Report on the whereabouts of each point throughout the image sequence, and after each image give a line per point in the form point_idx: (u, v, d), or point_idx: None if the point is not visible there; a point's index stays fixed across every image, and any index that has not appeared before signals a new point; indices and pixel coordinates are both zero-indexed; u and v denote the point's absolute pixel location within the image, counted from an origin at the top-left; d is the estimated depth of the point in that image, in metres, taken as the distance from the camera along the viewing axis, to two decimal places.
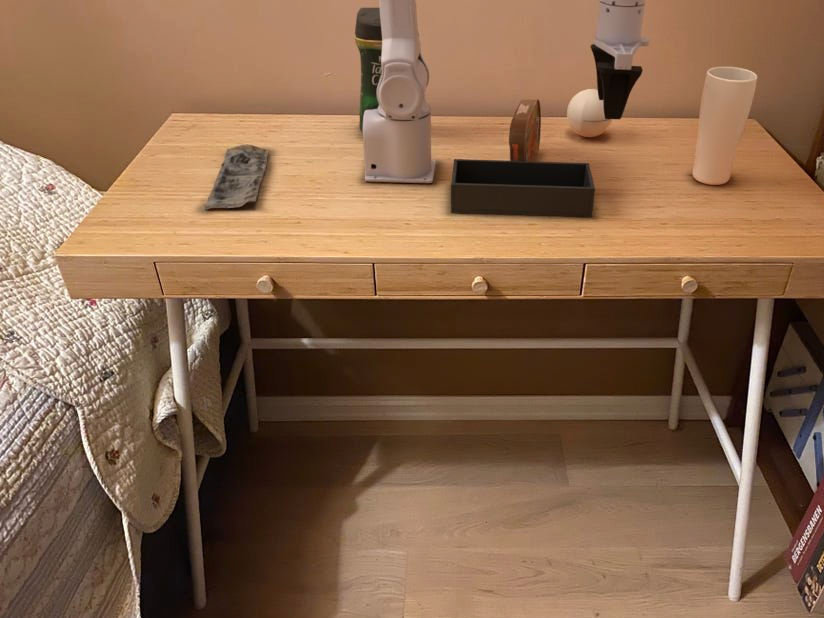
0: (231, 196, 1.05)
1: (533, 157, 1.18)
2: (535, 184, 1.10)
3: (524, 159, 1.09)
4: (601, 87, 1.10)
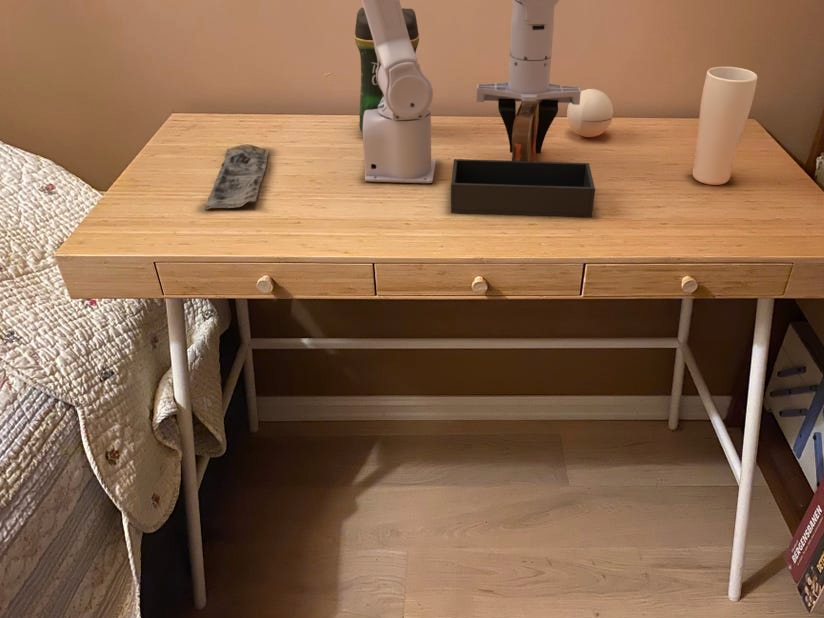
0: (231, 196, 1.05)
1: (533, 157, 1.18)
2: (535, 184, 1.10)
3: (526, 159, 1.09)
4: (536, 137, 1.16)
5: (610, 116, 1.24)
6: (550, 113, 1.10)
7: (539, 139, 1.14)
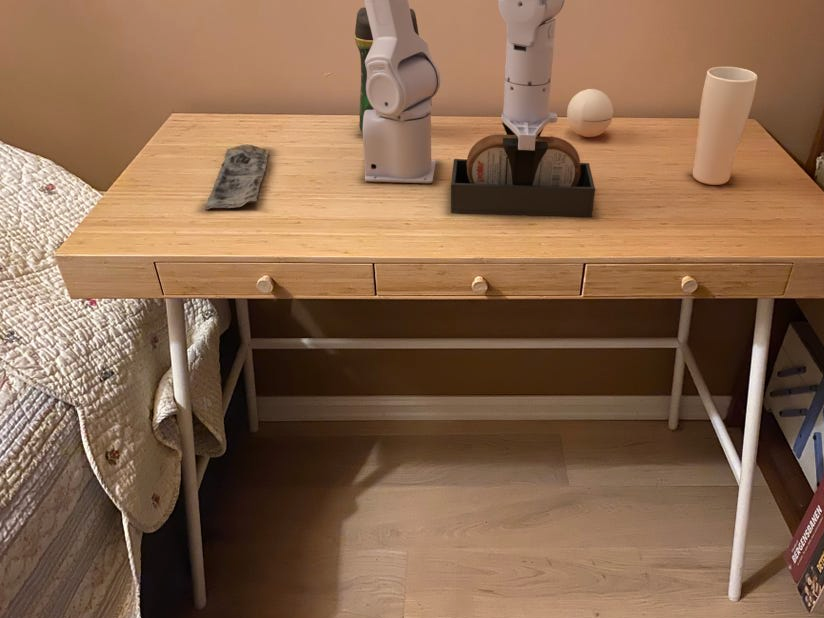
0: (231, 196, 1.05)
1: None
2: None
3: None
4: None
5: (610, 116, 1.24)
6: None
7: None
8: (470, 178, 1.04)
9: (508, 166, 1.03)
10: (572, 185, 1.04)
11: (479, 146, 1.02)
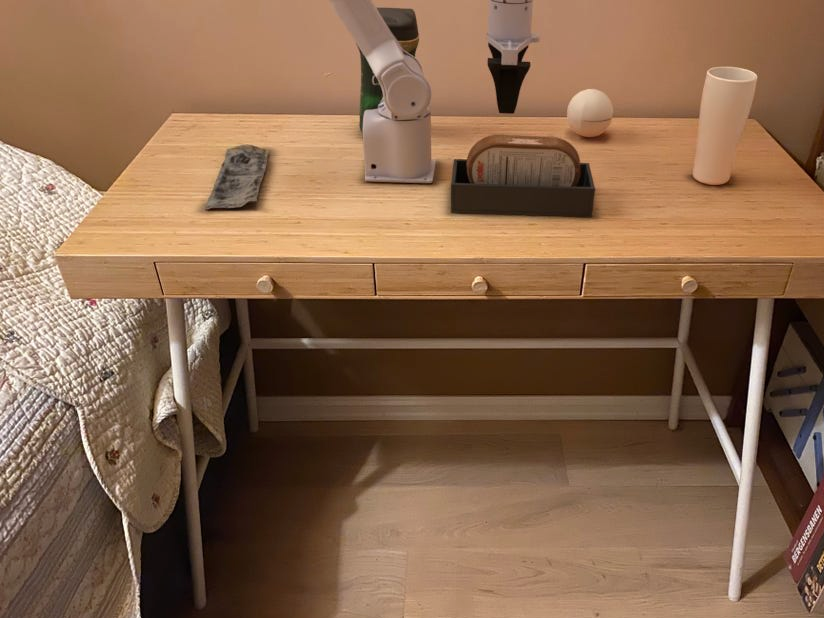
0: (231, 196, 1.05)
1: None
2: None
3: None
4: None
5: (610, 116, 1.24)
6: None
7: None
8: (470, 178, 1.04)
9: (508, 166, 1.03)
10: (572, 185, 1.04)
11: (479, 146, 1.02)
